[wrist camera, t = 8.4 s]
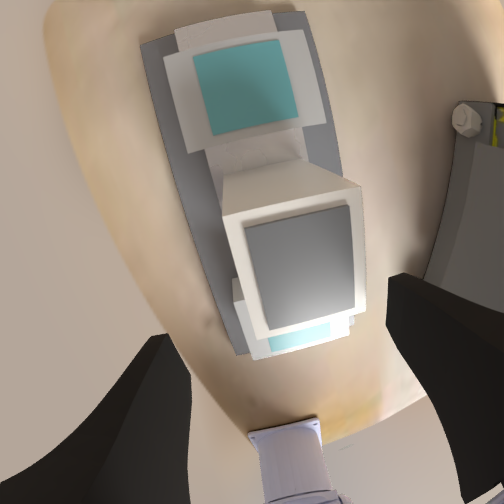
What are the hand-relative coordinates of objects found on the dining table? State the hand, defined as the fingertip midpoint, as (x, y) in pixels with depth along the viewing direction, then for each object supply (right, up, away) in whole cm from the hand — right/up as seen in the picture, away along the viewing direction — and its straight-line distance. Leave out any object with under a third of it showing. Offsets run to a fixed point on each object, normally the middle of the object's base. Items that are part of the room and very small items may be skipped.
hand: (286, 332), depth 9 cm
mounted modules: (0, +5, +6) cm, 8 cm away
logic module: (0, +5, +6) cm, 8 cm away
